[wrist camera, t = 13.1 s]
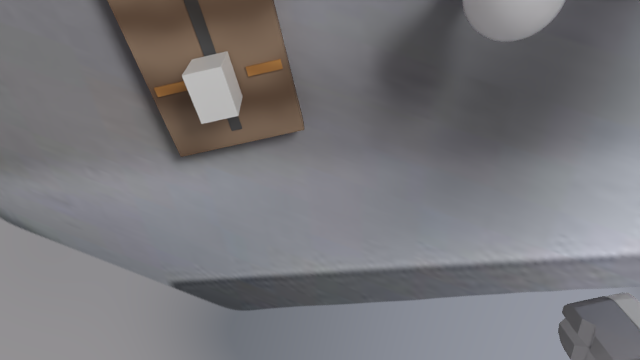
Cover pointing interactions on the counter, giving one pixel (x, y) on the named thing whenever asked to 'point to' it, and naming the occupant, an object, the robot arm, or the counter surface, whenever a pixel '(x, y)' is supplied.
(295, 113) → the fader board
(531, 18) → the lightbulb
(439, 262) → the counter surface
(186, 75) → the fader tab
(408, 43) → the counter surface
